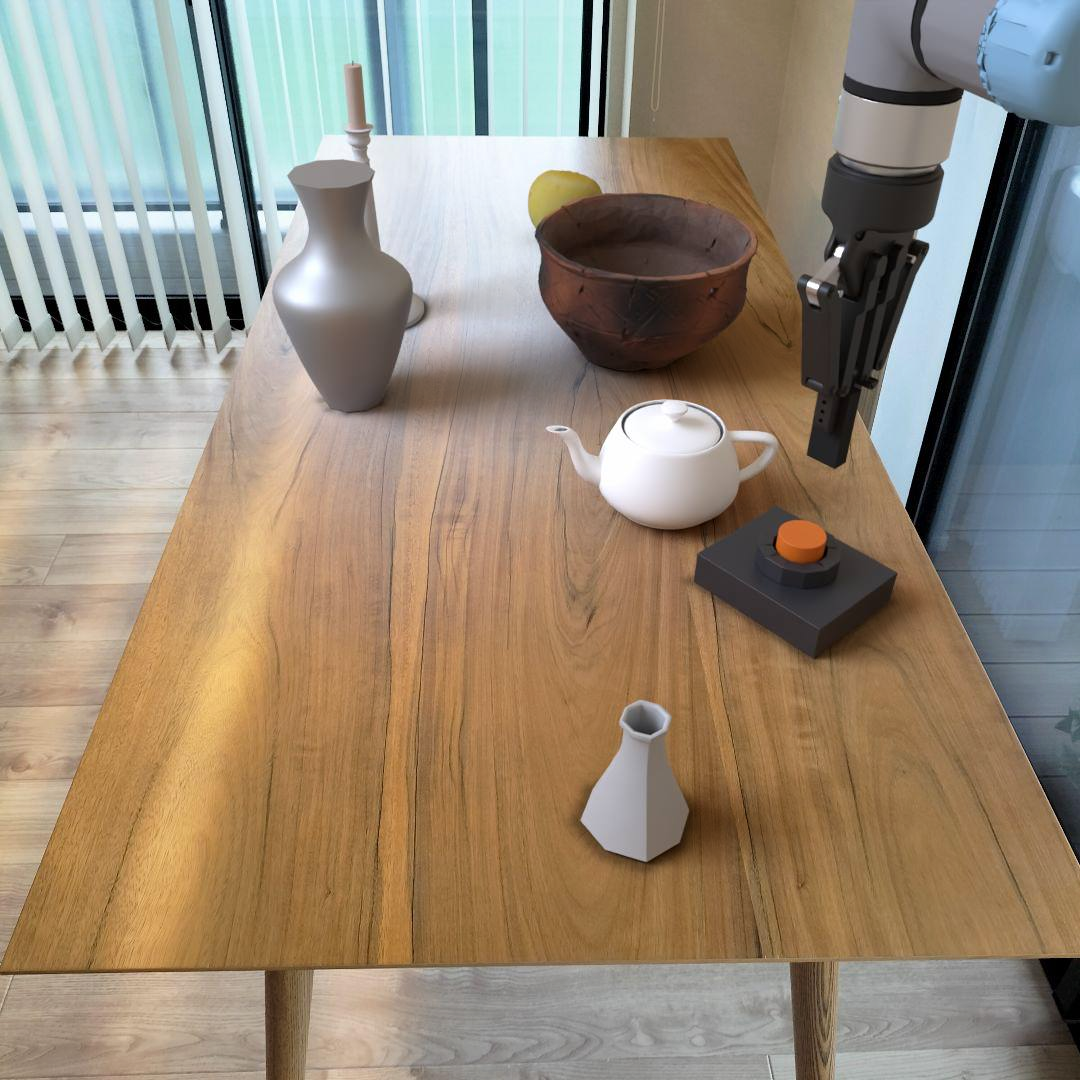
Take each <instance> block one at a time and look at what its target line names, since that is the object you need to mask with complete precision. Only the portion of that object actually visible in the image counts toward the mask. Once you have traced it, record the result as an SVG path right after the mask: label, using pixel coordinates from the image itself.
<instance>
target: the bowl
mask: <svg viewBox="0 0 1080 1080" xmlns="http://www.w3.org/2000/svg"><path fill="white" fill-rule="evenodd" d="M534 237H535V240H536V242H537V244H538V246H539V252H540V264H539V270H538V274H537V277H538V280H537V284H538V290H539V294H540V298H541V300H542V302H543V304H544V306H545V308H546V309H547V311H548V312H549V314H550V316H551V317H552V319H553V320H554V321H555V323H556V324H557V325H558V326H559V328H560V329H561V330H562V331H563V332H564V333H565V335H566V336H567V337H568V338H569V339H570V340H571V341H572V342H573V343H574V344H575V346H576V347H577V348H578V350H579V351H580V352H581V354H582V355H583V357H584V358H585V359H586V360H587V361H589V362H591V363H594V364H595V365H598V366H600V367H604V368H608V369H613V370H615V371H616V370H617V371H627V372H634V371H639V370H642V369H647V370H653V369H659V368H661V367H665V366H668V365H670V364H672V363H673V362H674V361H676V360H678V359H680V358H682V357H684V356H686V355H689V354H690V353H692V352H694V351H695V350H698V349H699V348H701V347H702V346H704V345H706V344H707V343H709V342H711V341H712V340H713V339H715V338H716V337H717V336H719V334H721V333H722V332H723V331H724V330H727V328H729V327H730V326H731V325H732V324H733V323H734V322H735V321H736V319H737V318H738V317H739V316H740V314H741V313H742V312H743V309H744V307H745V304H746V300H747V292H748V288H747V282H748V281H747V280H748V273H749V268H750V265H751V262H752V259H753V257H755V255H756V254H757V251H758V245H759V240H758V236H757V234H756V232H755V230H754V228H752V226H751V225H749V224H748V223H747V222H745V221H744V220H742V219H741V218H739V217H738V216H737V215H735V214H734V213H732V212H729V211H726V210H723V209H721V208H718V207H716V206H713V205H710V204H707V203H703V202H700V201H698V200H693V199H690V198H687V199H685V198H683V197H679V196H674V195H668V194H662V193H648V192H627V193H622V192H621V193H616V192H615V193H614V192H604V193H602V194H597V195H590V196H587V197H584V198H578V199H575V200H572V201H570V202H568V203H566V204H565V205H563V206H561V208H559V209H557V210H555V211H553V212H551V213H550V214H548V215H547V216H546V217H544V218H543V219H542V220H541V222H540V223H539V224H538V226H537V228H535V230H534Z"/></svg>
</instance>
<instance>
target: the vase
mask: <svg viewBox="0 0 1080 1080" xmlns="http://www.w3.org/2000/svg"><path fill="white" fill-rule="evenodd" d="M375 174H376V171H375V169H373V168H372V167H371V166H370V167H369V166H368V165H367V164H366V163H361V162H355V161H351V160H349V159H344V158H342V159H341V158H340V159H339V158H338V159H321V160H320V159H319V160H314V161H310V162H305V163H303V164H300V165H296V166H294V167H293V169H292V170H290V172H288V174H287V175H286V178H288V180H289V182H290V184H291V185H292V187H293V189H294V191H295V193H296V195H297V197H298V199H299V201H300V204H301V205H302V208H303V210H304V213H305V215H306V219H307V224H308V225H307V226H308V233H307V238H306V241H305V244H304V246H303V248H302V250H301V252H299V254H297V255H295V257H293V258H292V259H291V260H290V261H288V262H287V263H286V264H285V265H284V266H283V267H282V268H281V269H280V270H279V272H278V273H277V274H276V276H275V278H274V280H273V283H272V290H271V293H272V300H273V304H274V308H275V311H276V312H277V315H278V317H279V319H280V321H281V324H282V325H283V328H284V330H285V332H286V334H287V336H288V338H289V341H290V343H291V344H292V347H293V348H294V351H295V353H296V355H297V357H298V358H299V361H300V363H301V364H302V366H303V368H304V369H305V372H306V373H307V375H308V377H309V378H310V380H311V382H312V383H313V385H314V386H315V388H316V390H317V392H318V393H319V395H320V396H321V397H322V399H323V401H324V402H325V403H326V404H327V406H328V407H329V408H330V409H334V410H337V411H341V412H345V413H350V412H351V413H352V412H353V413H354V412H363V411H367V410H369V409H371V408H374V407H376V406H377V405H380V404H382V401H383V398H384V396H385V394H386V391H387V389H388V386H389V384H390V382H391V379H392V376H393V373H394V370H395V368H396V364H397V362H398V358H399V355H400V352H401V348H402V344H403V341H404V337H405V332H406V329H407V328H406V325H407V321H408V317H409V313H410V308H411V304H412V297H413V293H414V287H413V285H414V284H413V280H412V277H411V274H410V273H409V271H408V269H407V268H406V267H405V266H404V265H403V264H402V263H401V262H400V261H398V259H396V258H394V257H393V256H391V255H390V254H388V253H386V252H385V251H383V250H382V249H381V250H379V249H378V248H377V247H376V246H375V245H374V244H373V243H372V241H371V239H370V238H369V236H368V234H367V231H366V228H365V223H364V213H365V205H366V201H367V197H368V193H369V189H370V185H371V183H372V184H373V179H374V176H375Z"/></svg>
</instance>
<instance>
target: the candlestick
mask: <svg viewBox="0 0 1080 1080" xmlns="http://www.w3.org/2000/svg"><path fill="white" fill-rule="evenodd" d="M343 74H344V75H343V76H344V86H345V98H346V108H347V119H348V120H347V121H348V123H345V124H344V125H342V126H341V129H342V130H343V131H344V132H345V133H346V135H347V144H348V145H349V146H351V150H352V158H351V160H350V161H355V162H361V163H366V164H367V165H368V166H369V167H370V168H371V163H370V162H371V158H370V157H369V156H368V148H369V147H368V146H369V145H370V144H371V140H372V138H371V136H370V133H371V132H372V130H373V129H374V128H375V126H374V125H373V124H371V123H368V122H367V115H366V113H367V112H366V102H365V90H364V78H363V77H364V75H363V66H362V64H361V63H357V62H354V60H351V62H349V63H348V62H347V63H345V64H343ZM375 201H376V200H375V194H374V187H373V182H372V183H371V185H370V189H369V193H368V197H367V201H366V205H365V213H364V223H365V228H366V231H367V234H368V236H369V238H370V239H371V241H372V243H373V244H374V245H375V246H376V247H377V248H378V249H379V250H381V251H382V248H381V247H382V246H381V240H380V234H379V224H378V217H377V210H376V202H375ZM424 314H425V304H424V301H423V300H422V298H421V297H420V296H419V295H417V294H416V293H415V292H413V297H412V304H411V308H410V313H409V317H408V321H407V325H406V329H407V328H409V327H412V326H413V325H415V324H417V323H418V322H419V321H420V320H421V319H422V317H423V316H424Z"/></svg>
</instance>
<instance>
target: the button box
mask: <svg viewBox="0 0 1080 1080" xmlns="http://www.w3.org/2000/svg"><path fill="white" fill-rule="evenodd" d="M793 520H803V521H805V520H804V519H803V518H800V517H798V516H797V515H795V514H793V513H792V512H790V511H788V510H786V509H785V508H782V507H780V506H779V505H774V506H773V507H771V508H770V509H768V510H766V511H764V512H763V513H761V514H760V515H758V516H756V517H754V518H753V519H752V520H750V521H748V522H747V523H745V524H743V525H741V526H740V527H738V528H737V529H735V530H734V531H732V532H730V533H728V534H726V535H725V536H724V537H722V538H720V539H719V540H717V541H715V542H713V543H712V544H710V545H709V546H707V547H705V548H703V549H702V550H700V551H699V552H697V553H696V560H695V568H694V575H693V582H694V583H695V584H697V585H699V586H700V587H702V588H703V589H705V590H706V591H708V592H709V593H711V594H712V595H713V596H715V597H717V598H719V599H720V600H721V601H723V602H725V603H726V604H728V605H730V606H731V607H732V608H734V609H735V610H737V611H739V612H740V613H741V614H743V615H745V616H746V617H748V618H749V619H751V620H753V621H754V622H756V623H758V624H759V625H760V626H762V627H764V628H765V629H767V630H768V631H770V632H771V633H773V634H774V635H776V636H778V637H779V638H781V639H782V640H784V641H785V642H787V643H789V644H790V645H792V646H793V647H794V648H796V649H798V650H799V651H801V652H802V653H804V654H806V655H807V656H809V657H810V658H812V659H815V658H816V657H818V656H819V655H820V654H821V653H823V652H824V651H825V650H827V649H828V648H830V647H831V646H832V645H833V644H834V643H836V642H838V641H839V640H840V639H841V638H843V637H844V636H845V635H847V634H849V633H850V632H851V631H852V630H853V629H855V628H856V627H857V626H858V625H861V624H862V623H863V622H864V621H865V620H867V619H868V618H869V617H871V616H872V615H873V614H874V613H876V612H877V611H878V610H880V609H882V607H884V606H885V605H887V604H888V603H889V602H891V599H892V595H893V591H894V588H895V584H896V581H897V577H898V574H899V573H898V572H897V571H896V570H894V569H892V568H890V567H889V566H886V565H885V564H883V563H881V562H879V561H877V560H876V559H874V558H872V557H871V556H869V555H867V554H865V553H863V552H861V551H860V550H858V549H856V548H854V547H853V546H851V545H849V544H847V543H846V542H843V540H840V539H838V538H836V537H835V536H834V535H833V534H831V533H830V532H828V531H826V530H824V531H825V533H826V536H827V540H826V545H825V549H824V554H823V557H822V558H821V559H820V560H819V561H818V562H815V563H807V564H803V563H798V562H793V561H789V560H787V559H786V558H784V557H782V556H780V555H779V554H778V552H777V550H776V542H777V537H778V531H779V528H780V527H781V525H782V524H784V523H786V522H788V521H793Z"/></svg>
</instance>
